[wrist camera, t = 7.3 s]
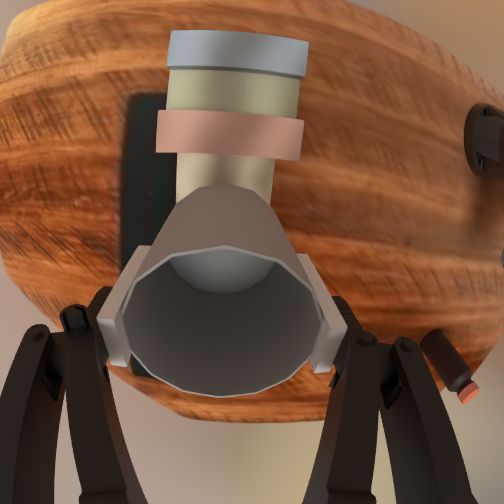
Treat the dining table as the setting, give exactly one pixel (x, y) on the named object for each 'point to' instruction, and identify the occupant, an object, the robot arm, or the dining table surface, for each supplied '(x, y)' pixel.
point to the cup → (222, 298)
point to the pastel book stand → (231, 108)
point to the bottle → (449, 365)
